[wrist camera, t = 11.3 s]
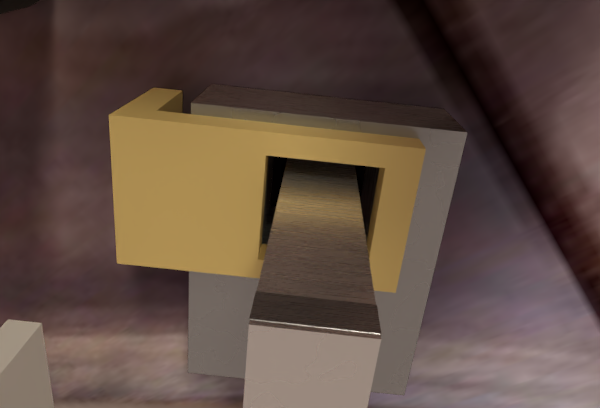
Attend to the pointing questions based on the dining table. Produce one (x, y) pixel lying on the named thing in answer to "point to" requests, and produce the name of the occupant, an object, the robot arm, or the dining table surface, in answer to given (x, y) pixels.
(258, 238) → the bracket
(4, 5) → the drinking cup
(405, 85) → the dining table surface
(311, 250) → the pin
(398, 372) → the gray post on base
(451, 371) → the dining table surface
